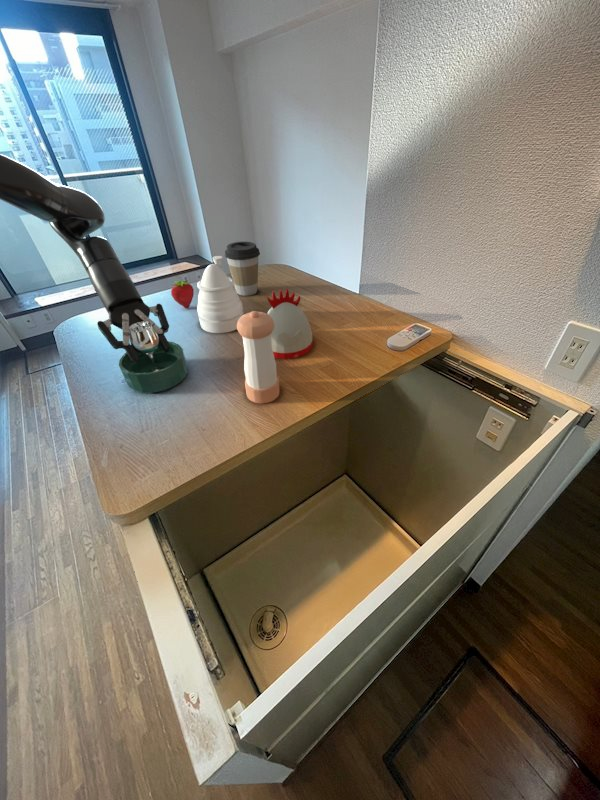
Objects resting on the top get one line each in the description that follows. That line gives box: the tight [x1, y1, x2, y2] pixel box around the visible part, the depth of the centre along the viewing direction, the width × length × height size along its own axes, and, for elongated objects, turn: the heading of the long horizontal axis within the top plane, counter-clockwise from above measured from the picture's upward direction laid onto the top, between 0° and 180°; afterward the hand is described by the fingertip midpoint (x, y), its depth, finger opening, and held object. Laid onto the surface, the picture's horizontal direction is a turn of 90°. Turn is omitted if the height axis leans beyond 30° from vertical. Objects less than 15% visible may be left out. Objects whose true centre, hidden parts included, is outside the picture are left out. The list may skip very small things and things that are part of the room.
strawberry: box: [170, 275, 195, 309], centre depth 100 cm, size 6×8×10 cm
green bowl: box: [118, 340, 189, 394], centre depth 75 cm, size 14×14×6 cm
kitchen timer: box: [266, 287, 313, 360], centre depth 82 cm, size 14×14×15 cm
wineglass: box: [128, 321, 164, 373], centre depth 72 cm, size 6×6×12 cm
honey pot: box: [196, 255, 245, 334], centre depth 90 cm, size 13×13×18 cm
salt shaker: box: [236, 310, 280, 404], centre depth 65 cm, size 7×7×19 cm
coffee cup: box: [224, 241, 261, 297], centre depth 108 cm, size 11×11×15 cm
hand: (153, 356), depth 71 cm, fingers closed on wineglass, 6 cm apart
